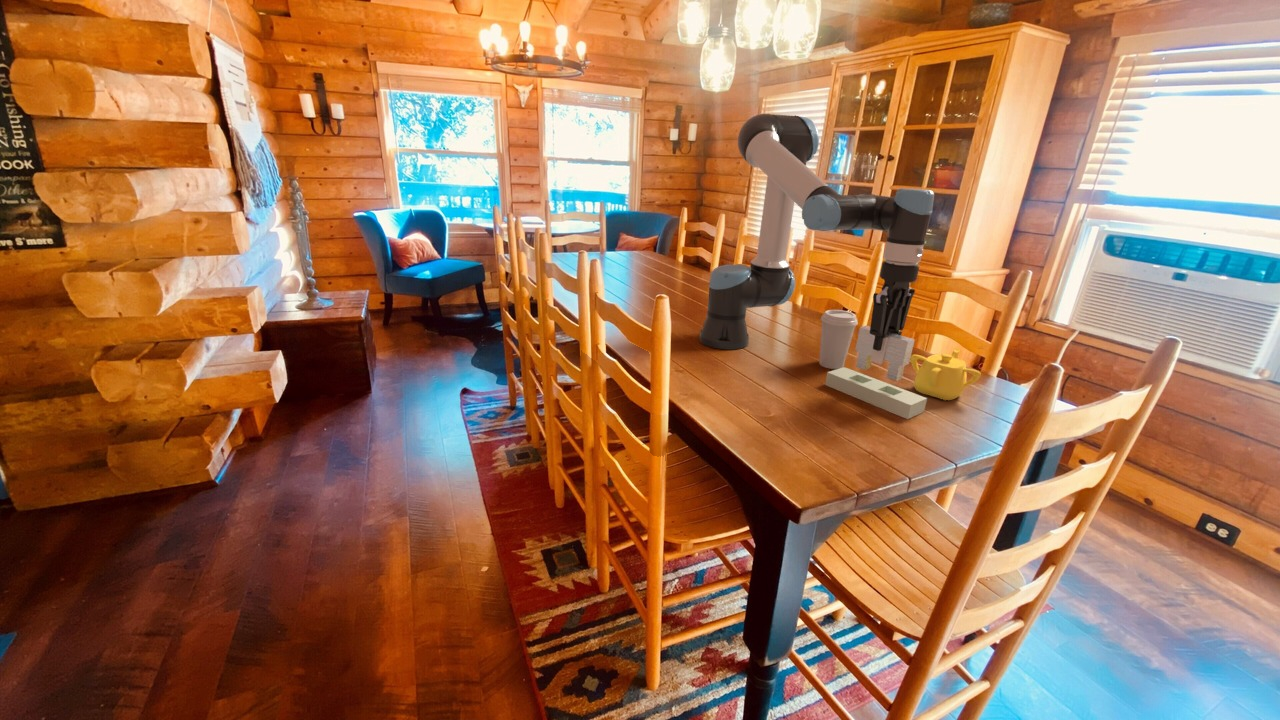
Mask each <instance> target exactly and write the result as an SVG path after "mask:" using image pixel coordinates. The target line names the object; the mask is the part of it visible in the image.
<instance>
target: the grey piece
mask: <svg viewBox="0 0 1280 720" xmlns="http://www.w3.org/2000/svg"><path fill="white" fill-rule="evenodd" d="M870 326H871V325H870ZM870 326H869V325H864V326H860V327H859V330H858V337H857V340H856V345H855V352H858V354H857V358H856V359H857V360H856V365H855V367H856V368H858V369H860V370H864V371H866V370H869V369H871V368H872V363H873V362H871V361H870V359H871V354H872V349H873V344H874V339H875V335H872V334H870ZM886 337H887V338H888V340H887V344H886V349H885V354H884V358H883V361H885V362H887V363H889V364H888V367H887V373H886V379H889V380H890V381H891V380H892V381H894V382H898V381H901V380H902V379H903V375H904V370H905V366H907V365H909V364H910V363H911V356H912V353H913V348H914V344H915V341H916V339H914V338H911V337H909V336H905V335H902V334H901V335H898V334H894V333H891V332H887V334H886Z"/></svg>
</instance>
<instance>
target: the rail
mask: <svg viewBox="0 0 1280 720" xmlns="http://www.w3.org/2000/svg"><path fill="white" fill-rule="evenodd" d="M825 386H827V387H829V388H831V389H834V390H836V391H839V392H841V393H844V394H846V395H849V396H850V397H853V398H856V399H858V400H860V401H863V402H865V403H868V404H869V405H872V406H874V407H877V408H880V409H881V410H884V411H887V412H889V413H891V414H894V415H896V416H899V417H902V418H904V419H906V420H909V419H911V418H913V417H915V416H918V415H920V414H922V413H924V412H925V409H926V406H927V401H928V397H925V396H923V395H920V394H917V393H915V392H912V391H909V390H906V389H904V388H901V387H899V386H895V385H893V384H890V383H889V382H885V381H883V380H880V379H877V378H874V377H871V376H870V375H866V374H864V373H862V372H859V371H856V370H853V369H851V368H848V367H846V366H843V368H839V369H832V370H831V371H828V372H827V373H826V379H825Z"/></svg>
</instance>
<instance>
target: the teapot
mask: <svg viewBox="0 0 1280 720" xmlns="http://www.w3.org/2000/svg"><path fill="white" fill-rule="evenodd" d="M960 351H961V349H959V348H955V349H954V350H953V351H952V353H951V354H947V353H942V354H937V353H936V354H932V355H930V356H928V357H926V356H923V355H920V354H911V358H910V363H911V365H912V368H913V370H914V371H915V373H916V375H915V378H914V381H913V383H914V384H913V385H914V389H915V391H917V392H919V393H920V394H923V395H927V396H930V397H934V398H937V399H939V400H942V399H943V400H942V401H946V400H948V401H951V400H954V399H956V398H958V397H959V396H961V395H962V393H963V392H964V391H965V390H966V388H967V387H968V386H971V385H972V384H974V383H976V382H977V381H978V380H979V379H980V378H981V376H982V373H981V372H980V371H979V370H976V369H972V368H968V367H967V365H966V361H965V360H962V359H959V354H960ZM918 360H921V361H923V363H922V365H921V366H920V367H919V364H918ZM967 373H969V374H971V375H972V376H971V378H970V379H969V380H968V381H967V375H968V374H967Z"/></svg>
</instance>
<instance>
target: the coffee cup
mask: <svg viewBox="0 0 1280 720" xmlns="http://www.w3.org/2000/svg"><path fill="white" fill-rule="evenodd" d="M820 321H821V322H822V323H821V336H820V349H819V365H820V366H821V367H823V368H825V369H831V370H836V369H839V368H843V367H845V363H846V360H847V356H848V351H849V349H850V345H851V342H852V338H853V334H854V332H855V329H856V326H857V325H858V324H859V323H858V322H859V321H858V318H857V315H856V314H855V313H853V312H851V311H847V310H842V309H828V310H826V311H825V312H824V313H823V314H822V316H821V318H820Z"/></svg>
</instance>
